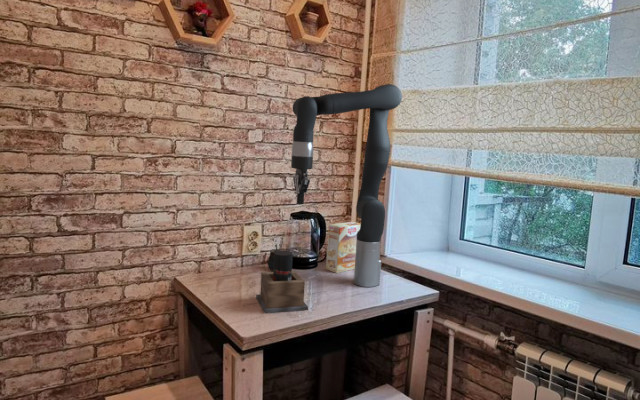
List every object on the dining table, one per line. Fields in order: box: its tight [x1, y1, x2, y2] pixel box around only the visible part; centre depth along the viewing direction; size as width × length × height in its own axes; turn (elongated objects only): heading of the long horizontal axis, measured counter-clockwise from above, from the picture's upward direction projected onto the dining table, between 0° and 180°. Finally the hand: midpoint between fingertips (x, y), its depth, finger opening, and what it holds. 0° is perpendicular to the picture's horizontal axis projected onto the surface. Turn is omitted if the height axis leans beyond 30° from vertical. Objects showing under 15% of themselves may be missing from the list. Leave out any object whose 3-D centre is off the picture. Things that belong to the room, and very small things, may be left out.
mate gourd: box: [267, 243, 283, 272], centre depth 178 cm, size 7×8×10 cm
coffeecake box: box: [325, 221, 361, 274], centre depth 184 cm, size 15×7×20 cm, turn 132°
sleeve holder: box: [255, 270, 309, 314], centre depth 141 cm, size 14×14×9 cm
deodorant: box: [272, 250, 294, 281], centre depth 141 cm, size 6×6×15 cm
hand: (299, 203), depth 154 cm, fingers closed
